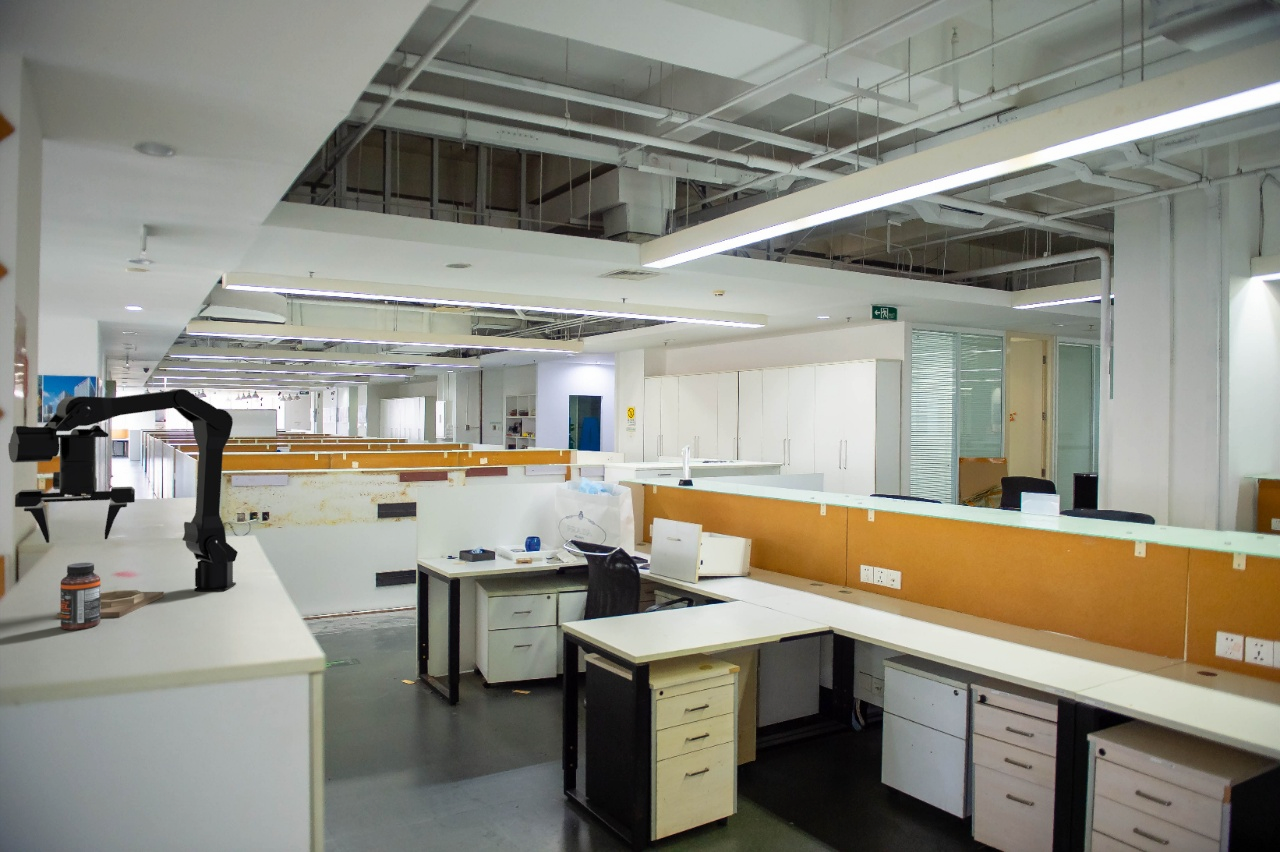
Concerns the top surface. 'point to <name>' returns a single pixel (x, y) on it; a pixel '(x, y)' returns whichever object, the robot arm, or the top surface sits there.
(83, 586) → the supplement bottle
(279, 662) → the top surface
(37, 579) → the top surface
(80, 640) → the top surface
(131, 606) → the wooden board with rim
